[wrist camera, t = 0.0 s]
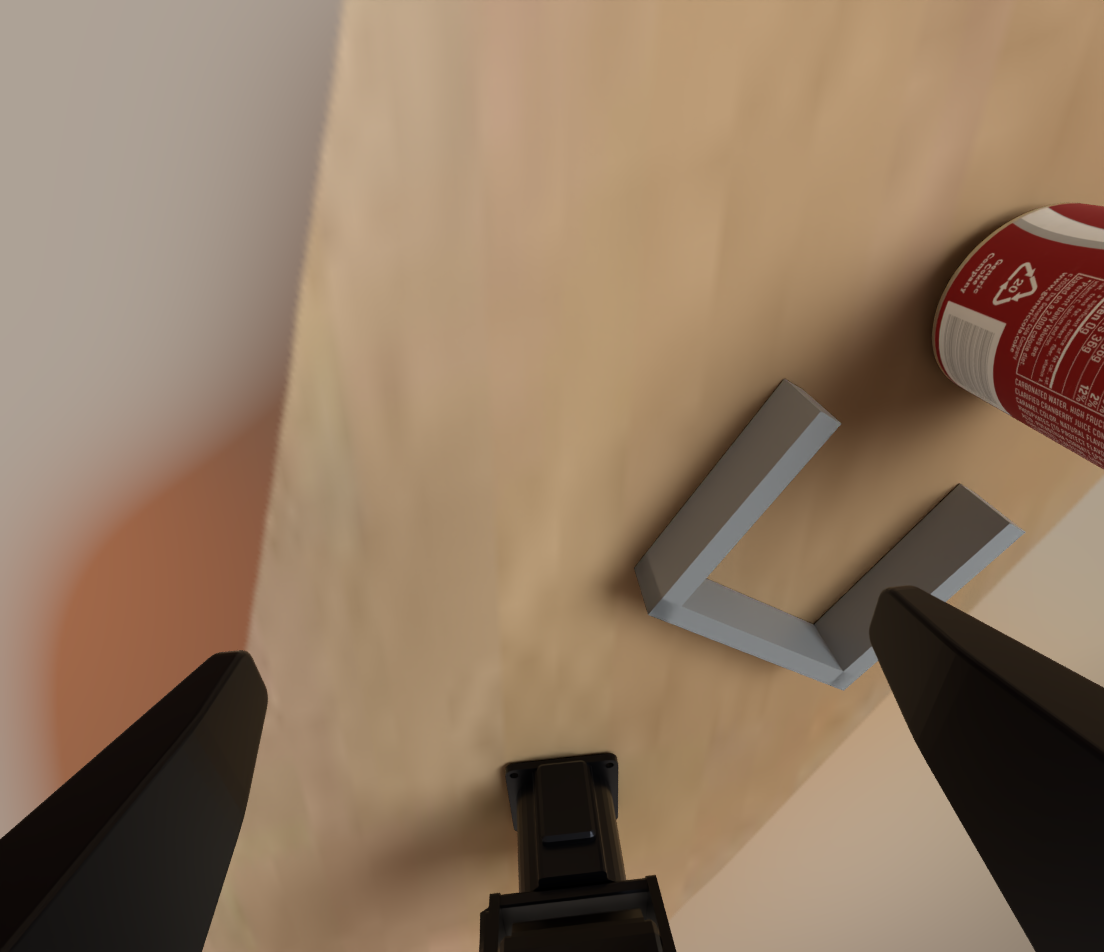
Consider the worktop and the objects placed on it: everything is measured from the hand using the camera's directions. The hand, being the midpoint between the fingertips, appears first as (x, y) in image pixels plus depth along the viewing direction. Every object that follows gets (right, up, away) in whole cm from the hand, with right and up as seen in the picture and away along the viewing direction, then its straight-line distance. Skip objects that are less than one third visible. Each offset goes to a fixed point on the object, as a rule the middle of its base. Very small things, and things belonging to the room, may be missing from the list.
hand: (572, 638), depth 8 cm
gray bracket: (+11, 0, +18) cm, 21 cm away
